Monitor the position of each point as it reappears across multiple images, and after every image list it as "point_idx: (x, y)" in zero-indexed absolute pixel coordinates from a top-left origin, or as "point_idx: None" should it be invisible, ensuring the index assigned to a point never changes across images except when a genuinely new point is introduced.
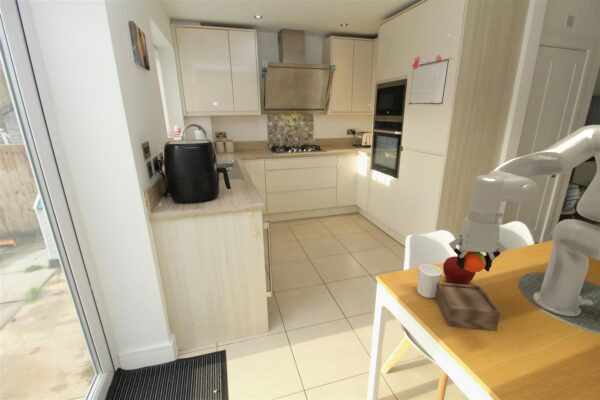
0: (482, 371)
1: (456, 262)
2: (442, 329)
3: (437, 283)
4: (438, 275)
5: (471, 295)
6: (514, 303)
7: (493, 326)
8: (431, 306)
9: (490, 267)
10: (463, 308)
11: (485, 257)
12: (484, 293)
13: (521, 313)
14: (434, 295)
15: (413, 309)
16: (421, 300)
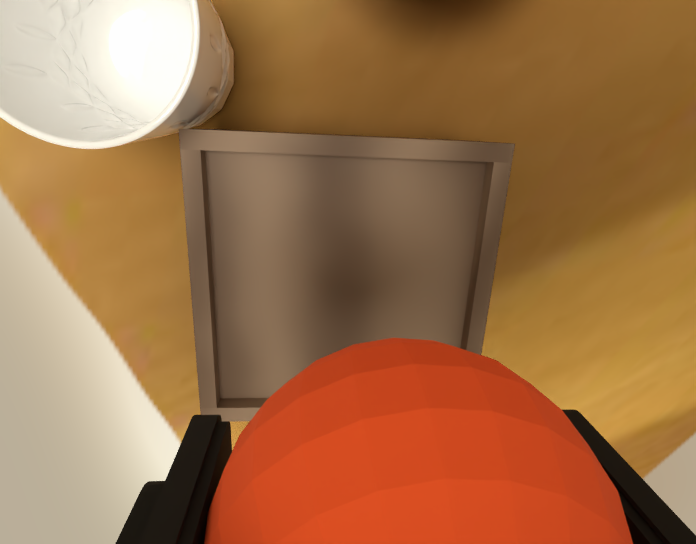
0: None
1: (142, 496)
2: (193, 380)
3: (183, 122)
4: (144, 136)
5: (396, 249)
6: (679, 121)
7: None
8: (174, 215)
9: None
10: None
11: None
12: (490, 242)
13: (645, 211)
14: (206, 118)
15: (62, 257)
16: (121, 161)
